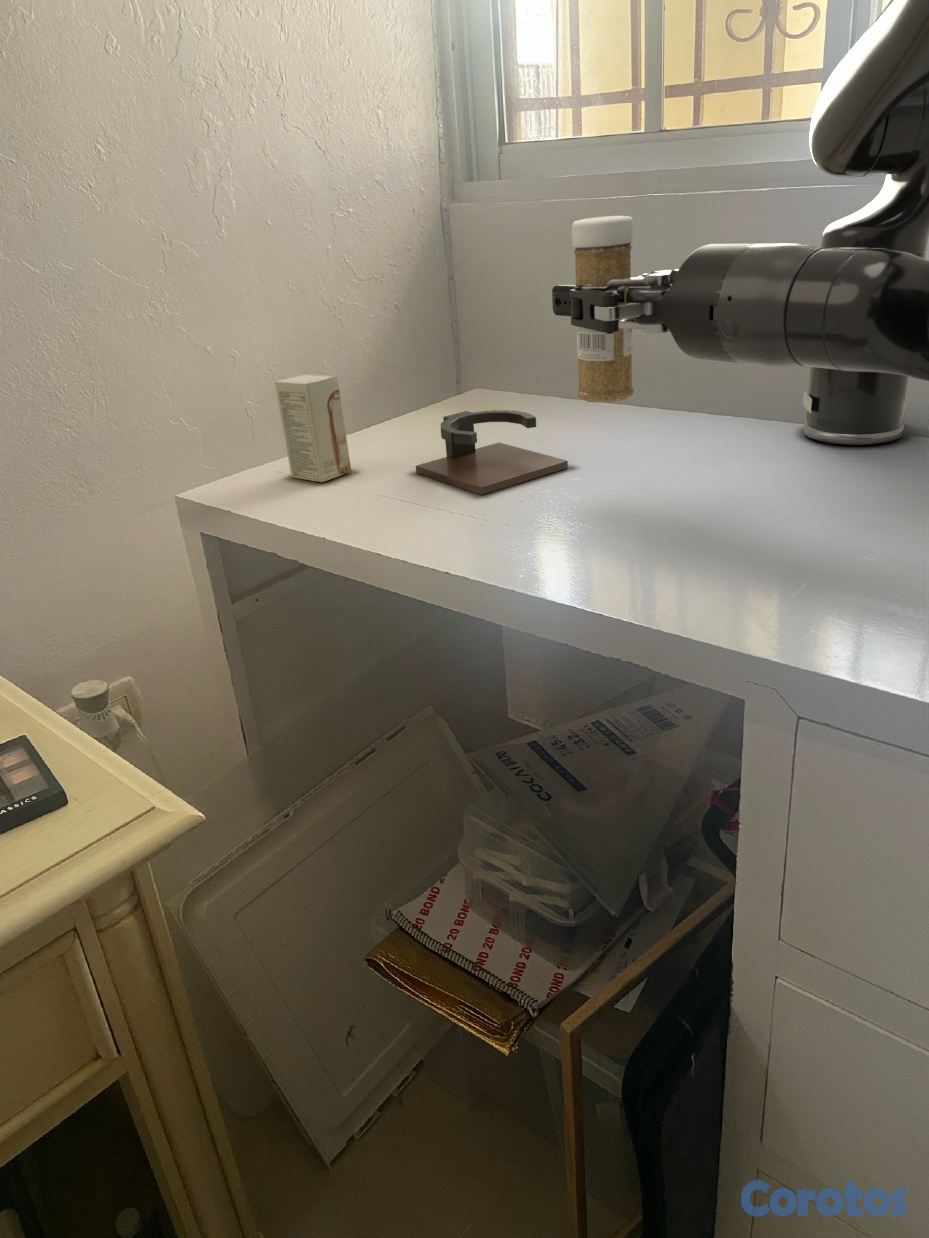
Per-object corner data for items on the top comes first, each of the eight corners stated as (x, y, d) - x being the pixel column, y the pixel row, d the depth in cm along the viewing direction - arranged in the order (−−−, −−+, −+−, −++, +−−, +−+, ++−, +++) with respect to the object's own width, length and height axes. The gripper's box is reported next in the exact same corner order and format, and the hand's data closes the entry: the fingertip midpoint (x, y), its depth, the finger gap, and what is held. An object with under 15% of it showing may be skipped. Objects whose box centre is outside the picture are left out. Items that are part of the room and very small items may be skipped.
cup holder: (568, 468, 90) (566, 418, 88) (481, 495, 85) (477, 443, 83) (498, 449, 99) (496, 403, 96) (415, 472, 93) (410, 424, 91)
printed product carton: (353, 472, 95) (340, 375, 90) (322, 484, 92) (307, 384, 87) (320, 466, 98) (305, 371, 94) (289, 477, 95) (272, 380, 91)
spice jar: (645, 396, 73) (646, 213, 67) (602, 406, 71) (599, 219, 65) (607, 389, 76) (604, 215, 71) (565, 399, 74) (559, 220, 68)
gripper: (827, 232, 62) (640, 235, 74) (686, 256, 54) (506, 255, 67) (817, 345, 65) (640, 330, 78) (683, 382, 58) (512, 358, 70)
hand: (579, 295), depth 72 cm, fingers closed on spice jar, 4 cm apart
